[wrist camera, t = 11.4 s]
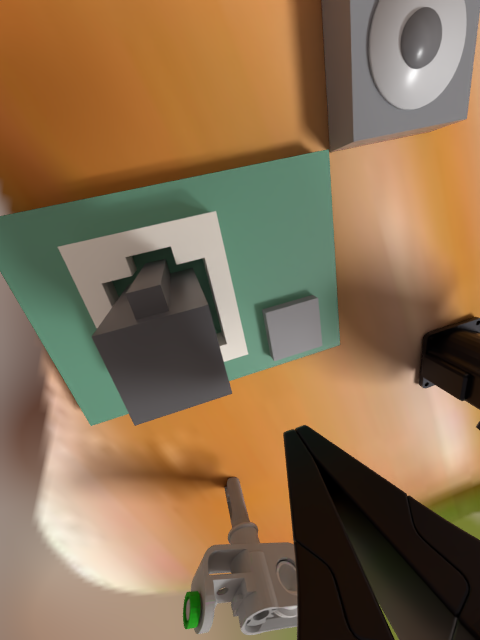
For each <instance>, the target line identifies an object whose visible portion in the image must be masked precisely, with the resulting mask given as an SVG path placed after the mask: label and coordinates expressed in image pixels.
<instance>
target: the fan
mask: <svg viewBox="0 0 480 640" xmlns="http://www.w3.org/2000/svg"><path fill="white" fill-rule="evenodd" d="M321 2H322V20H323V38H324V55H325V73H326V91H327V108H328V126H329V144H330V152H334V151H338V150H343V149H348V148H353V147H358V146H363V145H368V144H372V143H377V142H382V141H387V140H392V139H397V138H402V137H407V136H411V135H416V134H421V133H426V132H431V131H434V130H436V129H439V128H442V127H445V126H448V125H451V124H454V123H456V122H459V121H462V120H465V119H467V113H468V104H469V96H470V88H471V79H472V71H473V62H474V54H475V46H476V37H477V29H478V21H479V12H480V0H321Z"/></svg>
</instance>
